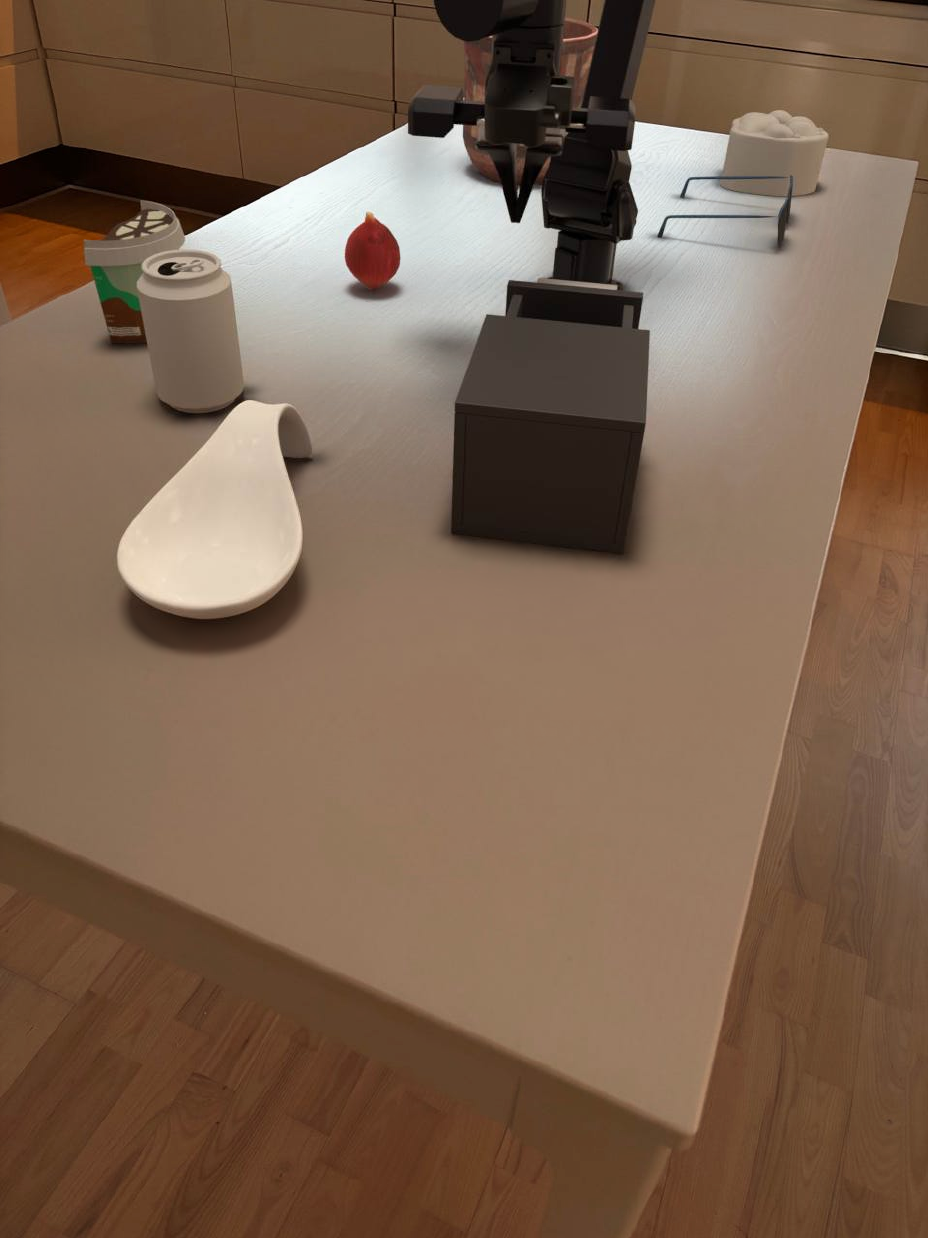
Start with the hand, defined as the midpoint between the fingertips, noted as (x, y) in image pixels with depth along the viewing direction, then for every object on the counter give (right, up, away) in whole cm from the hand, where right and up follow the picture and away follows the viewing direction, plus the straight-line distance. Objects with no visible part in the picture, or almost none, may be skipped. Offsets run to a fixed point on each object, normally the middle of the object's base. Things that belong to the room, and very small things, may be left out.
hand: (515, 221), depth 89 cm
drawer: (+4, -17, -3) cm, 18 cm away
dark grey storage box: (+2, -26, -12) cm, 28 cm away
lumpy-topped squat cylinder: (+38, +25, +51) cm, 68 cm away
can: (-28, -16, -2) cm, 32 cm away
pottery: (+4, +27, +51) cm, 58 cm away
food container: (-34, -7, +9) cm, 36 cm away
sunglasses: (+29, +14, +37) cm, 49 cm away
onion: (-14, 0, +18) cm, 23 cm away
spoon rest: (-21, -30, -18) cm, 40 cm away
